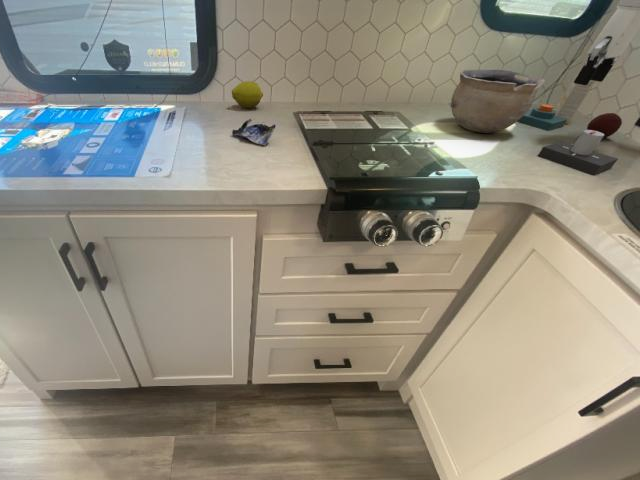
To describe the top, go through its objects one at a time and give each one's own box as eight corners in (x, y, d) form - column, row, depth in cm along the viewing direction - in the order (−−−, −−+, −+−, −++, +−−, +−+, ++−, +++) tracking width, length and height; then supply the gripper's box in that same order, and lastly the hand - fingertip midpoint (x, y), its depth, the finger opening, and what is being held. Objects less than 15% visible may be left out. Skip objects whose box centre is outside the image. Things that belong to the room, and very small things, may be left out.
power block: (563, 126, 116) (571, 113, 113) (547, 130, 112) (556, 117, 110) (527, 116, 123) (534, 103, 121) (511, 119, 120) (518, 107, 117)
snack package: (234, 147, 94) (276, 146, 95) (233, 121, 91) (277, 120, 91) (231, 139, 104) (269, 138, 105) (231, 115, 100) (270, 114, 101)
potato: (601, 133, 112) (618, 109, 107) (615, 142, 106) (634, 118, 101) (576, 130, 113) (592, 107, 108) (588, 139, 107) (606, 115, 102)
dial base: (611, 167, 92) (619, 158, 90) (593, 175, 88) (601, 165, 86) (555, 149, 100) (561, 140, 98) (537, 155, 96) (543, 146, 95)
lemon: (261, 105, 123) (263, 79, 117) (263, 111, 117) (265, 84, 112) (231, 104, 123) (231, 78, 117) (231, 110, 117) (231, 83, 111)
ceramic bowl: (481, 144, 101) (510, 86, 91) (425, 121, 115) (445, 68, 105) (529, 136, 108) (562, 80, 98) (471, 115, 122) (495, 64, 112)
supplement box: (568, 124, 117) (597, 80, 108) (551, 121, 119) (578, 78, 110) (567, 118, 123) (595, 75, 113) (551, 116, 124) (577, 73, 115)
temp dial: (574, 148, 95) (589, 127, 91) (593, 153, 92) (608, 132, 88) (567, 150, 93) (581, 130, 89) (585, 156, 90) (601, 135, 86)
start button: (552, 112, 115) (555, 106, 114) (546, 113, 114) (550, 107, 112) (541, 109, 117) (544, 103, 116) (535, 110, 116) (539, 104, 115)
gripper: (634, 0, 90) (586, 76, 102) (606, 0, 83) (558, 82, 95) (671, 3, 86) (616, 82, 98) (644, 3, 79) (589, 88, 91)
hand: (587, 82), depth 96 cm, fingers open, 9 cm apart
